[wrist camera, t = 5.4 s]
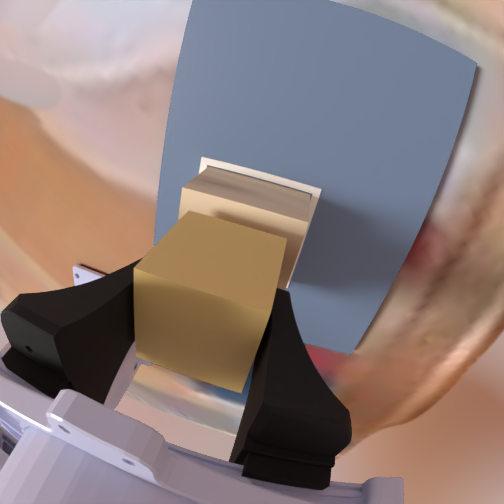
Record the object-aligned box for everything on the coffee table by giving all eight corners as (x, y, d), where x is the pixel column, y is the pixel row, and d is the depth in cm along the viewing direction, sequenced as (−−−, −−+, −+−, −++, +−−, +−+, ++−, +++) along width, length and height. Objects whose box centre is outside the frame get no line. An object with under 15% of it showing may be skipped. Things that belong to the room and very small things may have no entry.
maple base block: (282, 279, 21) (274, 319, 17) (194, 253, 21) (171, 287, 17) (310, 194, 17) (308, 222, 14) (208, 166, 18) (182, 187, 14)
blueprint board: (350, 349, 23) (350, 355, 23) (154, 291, 24) (150, 296, 23) (472, 63, 12) (477, 63, 11) (201, -16, 13) (197, -20, 12)
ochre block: (262, 314, 16) (241, 393, 12) (178, 288, 16) (135, 356, 12) (287, 238, 14) (270, 312, 9) (188, 210, 14) (133, 267, 10)
